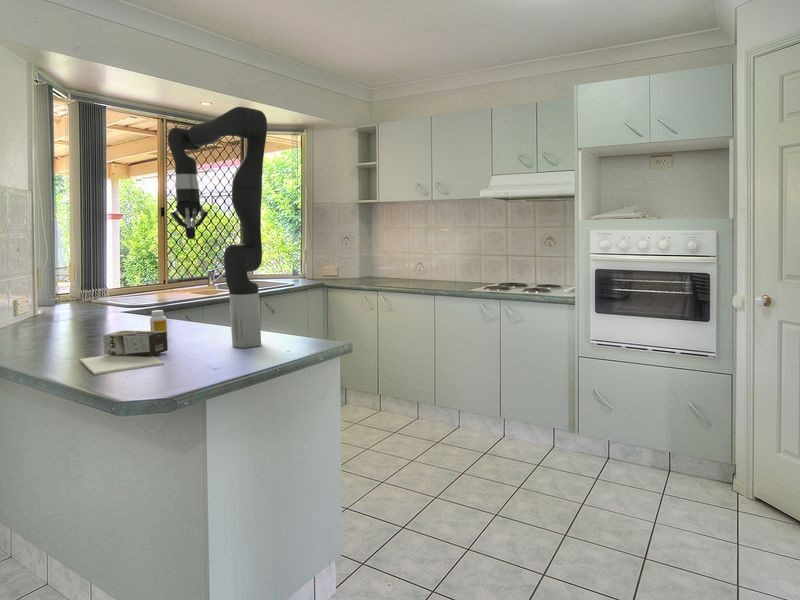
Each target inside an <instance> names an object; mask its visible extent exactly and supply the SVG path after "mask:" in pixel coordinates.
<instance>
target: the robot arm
mask: <svg viewBox="0 0 800 600" xmlns="http://www.w3.org/2000/svg"><path fill="white" fill-rule="evenodd" d="M267 132H268V120H267V116H266V115H265V113H264V112H263V111H261V110H259V109H256V108H251V107H245V106H235V107H233V108H231V109H230V110H228V111H226V112H224V113H222V114H221V115H219V116H217V117H216V118H215V117H214V118H213V119H210V120H208V121H204V122H199V123H198V124H194V125H191V127H189V128H184V127H183V128H182V127H172V128H171V129H170V130H169V131H168V134H167V144H168V147H169V149H170V150H169V151H170V152H171V156H172V158H173V162H174V168H175V169H174V170H175V172H174V173H175V181H174V182H175V183H174V184H175V185H174V187H175V196H176V205H175V209H174V210H173V211H170V213H169V216H171V217H172V218H173V220H174V221H175V222H176V223H177V224H178V226H180V227H182V228H184V229H185V237H186V238H187V240H194V239H195V238H196V228H197V227H200V226H201V225H202V223H203V221H204V220H205V219H206V218H207V216H208V215H209V213H208V211H205V210H204V209H203V208H202V205H201V201H200V200H201V197H200V184H199V182H200V181H199V177H198V164H197V163H198V162H197V160H196V159H195V158H194V157H192V156H189V155H188V154H187V152H186V151H197V150H199V149H201V148H203V147H204V146H208V145H212V144H215V143H217V142H219V141H220V140H221V139H222V137H237V138H241V139H246V147H245V148H246V150H245V155H244V157H243V160H242V161H241V163H240V165H239V167H238V168H237V170H236V172H235V174H234V176H233V179H232V184H231V203H232V207H233V209H234V211H235V214H236V215H237V218H238V219H239V222H240V225H241V227H242V228H241V230H242V242H241V243H234V244H230V245H228V246H227V247H226V248H225V251H224V254H223V263H224V265H223V266H224V273H225V282H226V285H227V288H228V294H229V295H228V296H229V311H230V312H229V313H230V325H231V326H230V328H231V331H230V332H231V342H232V343H231V345H232V347H233V348H242V349H246V348H247V349H248V348H254V347H260V346H261V347H262V333H261V319H260V318H261V313H260V311H261V310H260V295H259V292H260V291H259V285H258V284H257V283H256V282H254V281H252V280H250V279H249V277H248V273H249V272H255V271H257V270H258V269H259V268H260V267H261V265H262V261H263V260H262V259H263V247H262V246H263V245H262V226H261V225H262V223H261V222H262V221H261V220H262V219H261V218H262V197H263V196H262V195H263V169H264V156H265V155H264V154H265V148H266V147H265V146H266V141H267V135H268V134H267ZM179 215H180V216H181V218H182V219H183V220H182V219H181V218H180V216H179ZM198 216H199V217H198ZM197 217H198V218H197Z"/></svg>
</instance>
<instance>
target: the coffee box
mask: <svg viewBox="0 0 800 600" xmlns="http://www.w3.org/2000/svg"><path fill="white" fill-rule="evenodd" d="M102 342H103V343H102V344H103V354H104V356H106V355H131V356H155V355H158V354H161V353H164V352H167V351H168V350H169V347H168V333H167V334H166V331H151V330H119V331H115V332H111V333H105V334H103V335H102Z"/></svg>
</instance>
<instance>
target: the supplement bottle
mask: <svg viewBox="0 0 800 600" xmlns="http://www.w3.org/2000/svg"><path fill="white" fill-rule="evenodd" d="M164 314H165V313H164V310H163V309H157V310H152V311H151V317H150V318H149V323H150V324H149V325H150V331H166V334H167V335H168V326H167V325H168V324H167V317H166V316H165V315H164Z"/></svg>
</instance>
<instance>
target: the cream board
mask: <svg viewBox="0 0 800 600" xmlns="http://www.w3.org/2000/svg"><path fill="white" fill-rule="evenodd" d="M79 360H80V361H79V362H80V363H81V364H83V365H84V366H85V367H86V368H87V369H88V370H89V371H90V372H91V373H92V375H94V376H95V375H102V374H108V373H115V372H121V371H127V370H135V369H141V368H147V367H153V366H155V367H156V366H162V365H164V364H165V363H164V361H162V360H161V359H160V358H158V357H156V356H155V355H153V356H131V355H100V356H91V357H86V358H85V357H84V358H79Z"/></svg>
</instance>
